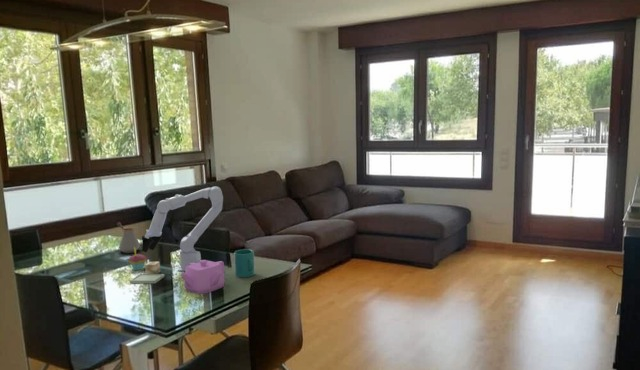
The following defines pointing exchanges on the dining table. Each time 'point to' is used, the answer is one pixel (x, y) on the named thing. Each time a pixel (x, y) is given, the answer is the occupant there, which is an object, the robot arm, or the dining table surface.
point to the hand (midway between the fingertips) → (147, 250)
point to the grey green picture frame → (147, 278)
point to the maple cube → (152, 267)
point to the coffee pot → (128, 240)
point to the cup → (244, 263)
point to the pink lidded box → (204, 276)
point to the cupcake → (137, 261)
